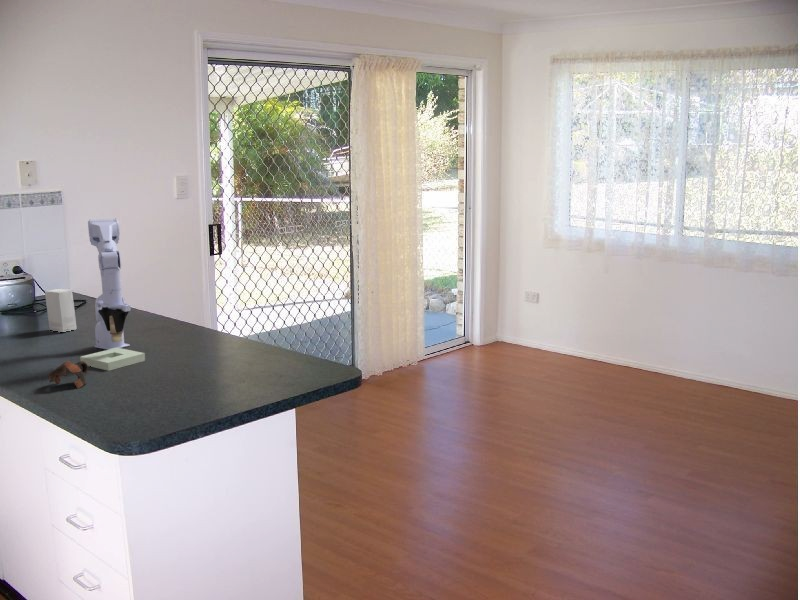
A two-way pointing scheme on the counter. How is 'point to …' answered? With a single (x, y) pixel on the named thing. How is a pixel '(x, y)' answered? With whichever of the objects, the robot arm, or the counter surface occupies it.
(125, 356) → the sage board
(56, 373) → the brown arch piece
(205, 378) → the counter surface
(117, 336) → the beech peg
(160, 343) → the counter surface
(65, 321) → the skincare box
